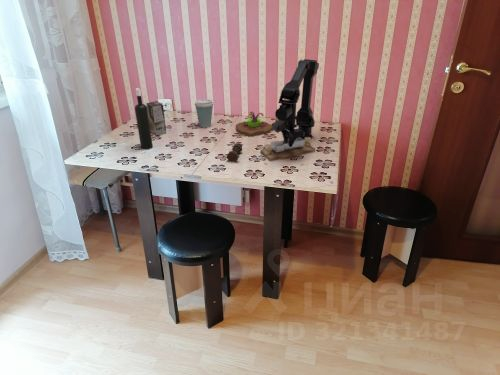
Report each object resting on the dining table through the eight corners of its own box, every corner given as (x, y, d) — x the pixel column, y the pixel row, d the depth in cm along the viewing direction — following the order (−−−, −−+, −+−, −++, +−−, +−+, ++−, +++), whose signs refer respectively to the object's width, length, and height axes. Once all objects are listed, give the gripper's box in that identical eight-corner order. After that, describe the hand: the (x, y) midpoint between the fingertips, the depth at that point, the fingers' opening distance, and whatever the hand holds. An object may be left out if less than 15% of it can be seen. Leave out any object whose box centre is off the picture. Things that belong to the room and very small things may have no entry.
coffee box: (167, 133, 207) (163, 104, 199) (156, 135, 204) (152, 106, 196) (160, 128, 213) (156, 100, 205) (149, 130, 210) (145, 102, 202)
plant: (229, 128, 213) (228, 109, 207) (256, 121, 223) (256, 103, 217) (249, 139, 199) (249, 119, 193) (278, 131, 208) (278, 112, 203)
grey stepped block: (299, 142, 187) (299, 136, 185) (305, 146, 182) (305, 140, 181) (270, 147, 181) (270, 142, 180) (276, 152, 176) (276, 146, 175)
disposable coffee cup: (192, 126, 215) (190, 101, 208) (204, 121, 223) (202, 96, 216) (206, 130, 210) (204, 104, 203) (218, 124, 218) (217, 99, 210)
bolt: (240, 153, 187) (234, 165, 174) (232, 147, 187) (224, 159, 174) (246, 143, 185) (239, 155, 172) (237, 138, 184) (230, 149, 171)
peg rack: (304, 144, 191) (304, 134, 189) (315, 151, 183) (315, 141, 181) (260, 153, 182) (260, 142, 180) (269, 161, 174) (269, 150, 172)
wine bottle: (146, 144, 193) (137, 86, 178) (155, 146, 191) (146, 87, 176) (138, 148, 189) (128, 89, 174) (147, 150, 187) (138, 90, 172)
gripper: (265, 110, 178) (264, 141, 186) (284, 122, 163) (282, 155, 171) (285, 107, 182) (284, 137, 190) (305, 119, 167) (303, 151, 175)
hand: (288, 145), depth 181 cm, fingers closed on grey stepped block, 4 cm apart
